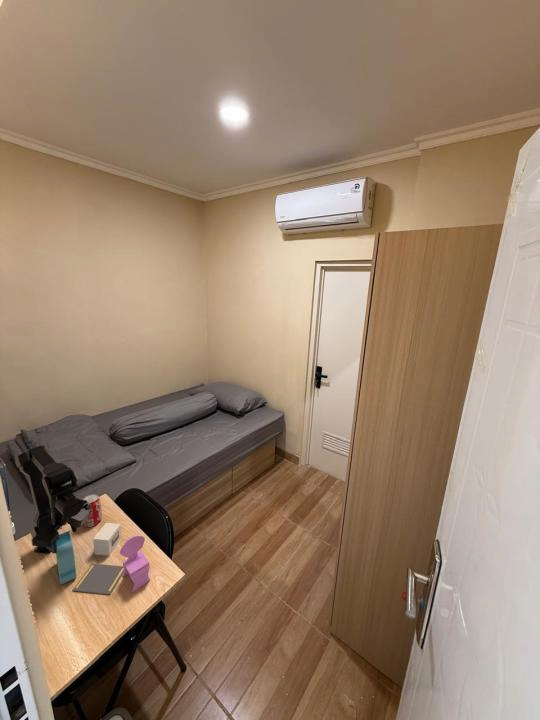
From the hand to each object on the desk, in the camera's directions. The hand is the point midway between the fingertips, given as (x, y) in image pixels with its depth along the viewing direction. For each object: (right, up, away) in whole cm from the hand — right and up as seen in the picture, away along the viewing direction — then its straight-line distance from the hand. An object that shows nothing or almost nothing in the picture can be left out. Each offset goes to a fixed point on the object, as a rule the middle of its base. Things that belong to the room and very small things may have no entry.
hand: (65, 541), depth 100 cm
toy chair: (+25, -13, 0) cm, 28 cm away
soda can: (-5, -7, +24) cm, 26 cm away
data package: (-1, -12, +2) cm, 12 cm away
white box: (+8, -10, +13) cm, 18 cm away
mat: (+13, -13, 0) cm, 18 cm away
